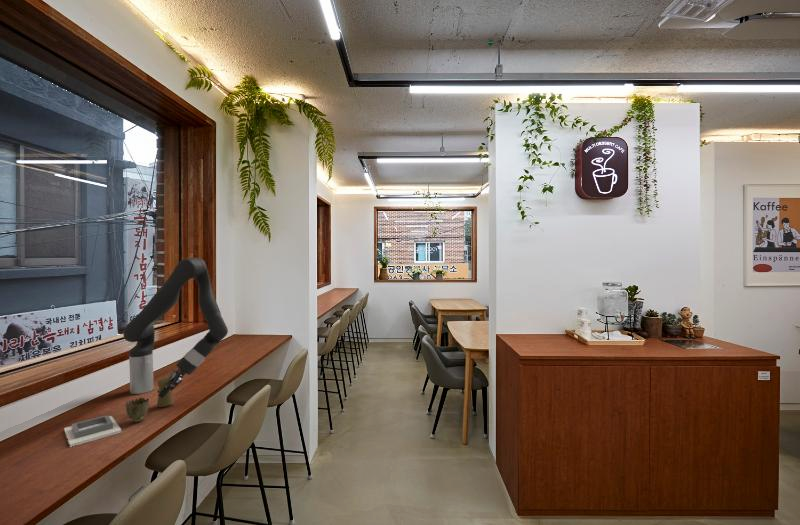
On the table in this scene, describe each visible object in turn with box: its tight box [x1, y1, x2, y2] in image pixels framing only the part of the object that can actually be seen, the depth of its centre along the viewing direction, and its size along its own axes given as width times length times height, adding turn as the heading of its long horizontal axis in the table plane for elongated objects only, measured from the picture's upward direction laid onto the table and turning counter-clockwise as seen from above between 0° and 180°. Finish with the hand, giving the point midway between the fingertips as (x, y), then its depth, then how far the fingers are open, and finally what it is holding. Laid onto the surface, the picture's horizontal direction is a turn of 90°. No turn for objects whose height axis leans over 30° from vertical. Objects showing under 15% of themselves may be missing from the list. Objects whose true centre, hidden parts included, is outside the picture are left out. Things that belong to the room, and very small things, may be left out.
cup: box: [125, 397, 150, 424], centre depth 145 cm, size 8×7×8 cm
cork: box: [156, 376, 174, 408], centre depth 160 cm, size 6×6×11 cm
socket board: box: [63, 414, 122, 448], centre depth 137 cm, size 18×14×3 cm
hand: (159, 394), depth 159 cm, fingers closed on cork, 4 cm apart
